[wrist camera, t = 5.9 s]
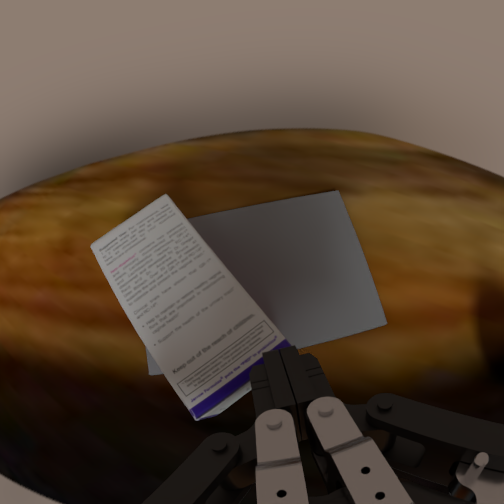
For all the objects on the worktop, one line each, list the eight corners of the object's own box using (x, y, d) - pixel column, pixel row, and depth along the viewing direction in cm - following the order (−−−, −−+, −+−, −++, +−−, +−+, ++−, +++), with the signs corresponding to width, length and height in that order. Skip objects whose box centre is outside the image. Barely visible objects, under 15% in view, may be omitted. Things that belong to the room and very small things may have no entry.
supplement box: (298, 344, 14) (164, 188, 18) (195, 423, 13) (83, 246, 17) (288, 359, 19) (185, 236, 23) (214, 417, 18) (120, 283, 22)
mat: (337, 194, 25) (338, 190, 25) (384, 325, 20) (387, 323, 20) (139, 233, 24) (137, 230, 24) (151, 375, 20) (149, 374, 19)
